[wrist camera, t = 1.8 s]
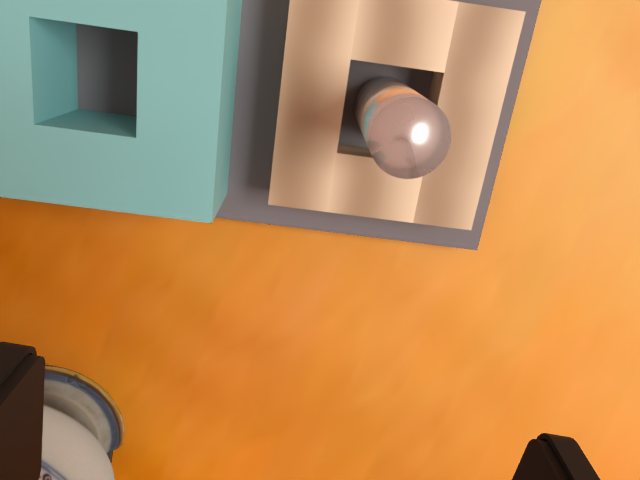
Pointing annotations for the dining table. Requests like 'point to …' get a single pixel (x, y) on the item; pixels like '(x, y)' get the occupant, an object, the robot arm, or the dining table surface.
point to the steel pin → (401, 128)
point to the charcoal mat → (262, 110)
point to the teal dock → (114, 129)
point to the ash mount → (445, 91)
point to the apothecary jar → (78, 428)
